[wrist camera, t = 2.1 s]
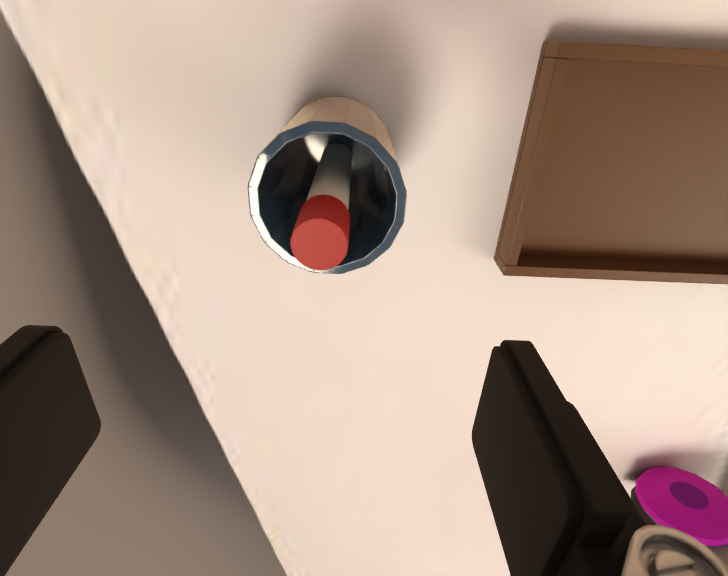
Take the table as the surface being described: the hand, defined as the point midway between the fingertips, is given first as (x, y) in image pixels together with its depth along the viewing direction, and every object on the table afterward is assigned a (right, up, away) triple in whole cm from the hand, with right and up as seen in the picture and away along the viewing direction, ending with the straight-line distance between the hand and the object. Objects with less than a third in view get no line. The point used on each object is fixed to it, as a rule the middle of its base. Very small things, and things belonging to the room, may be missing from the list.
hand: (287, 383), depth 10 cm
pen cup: (0, +11, +19) cm, 22 cm away
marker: (0, +11, +18) cm, 21 cm away
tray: (+23, +10, +20) cm, 32 cm away
